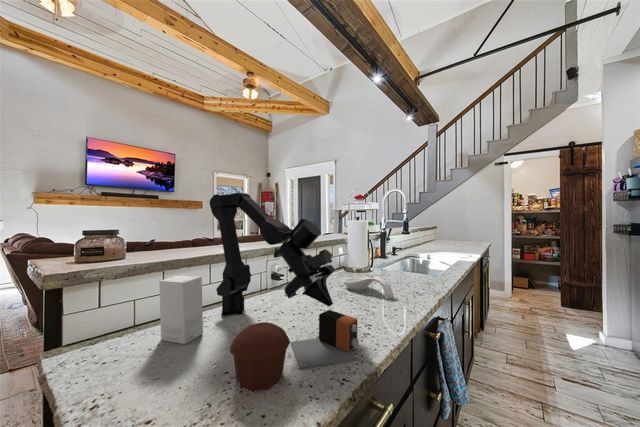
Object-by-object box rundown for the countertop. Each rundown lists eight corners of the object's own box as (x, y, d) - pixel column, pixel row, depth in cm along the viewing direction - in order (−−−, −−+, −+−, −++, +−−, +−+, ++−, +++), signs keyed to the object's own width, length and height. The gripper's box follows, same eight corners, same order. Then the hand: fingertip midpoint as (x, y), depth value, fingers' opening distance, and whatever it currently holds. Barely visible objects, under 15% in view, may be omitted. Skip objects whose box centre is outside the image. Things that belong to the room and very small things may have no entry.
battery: (317, 340, 65) (351, 354, 58) (318, 313, 65) (351, 325, 58) (328, 334, 68) (361, 347, 61) (328, 308, 68) (361, 319, 61)
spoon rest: (337, 288, 113) (337, 271, 114) (355, 283, 121) (355, 268, 121) (381, 302, 95) (381, 283, 95) (399, 296, 103) (399, 278, 103)
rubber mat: (299, 369, 53) (299, 367, 53) (290, 343, 64) (290, 341, 64) (356, 360, 57) (356, 357, 57) (339, 337, 67) (339, 335, 67)
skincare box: (203, 334, 68) (204, 276, 69) (183, 346, 62) (183, 282, 62) (179, 329, 71) (180, 273, 71) (157, 340, 65) (158, 279, 65)
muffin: (237, 406, 43) (237, 346, 43) (223, 371, 52) (224, 322, 53) (299, 381, 49) (300, 330, 49) (277, 354, 59) (277, 311, 59)
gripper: (294, 244, 62) (336, 297, 56) (329, 238, 78) (363, 278, 73) (269, 272, 65) (305, 325, 60) (307, 261, 82) (338, 301, 76)
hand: (331, 305), depth 67 cm, fingers closed
